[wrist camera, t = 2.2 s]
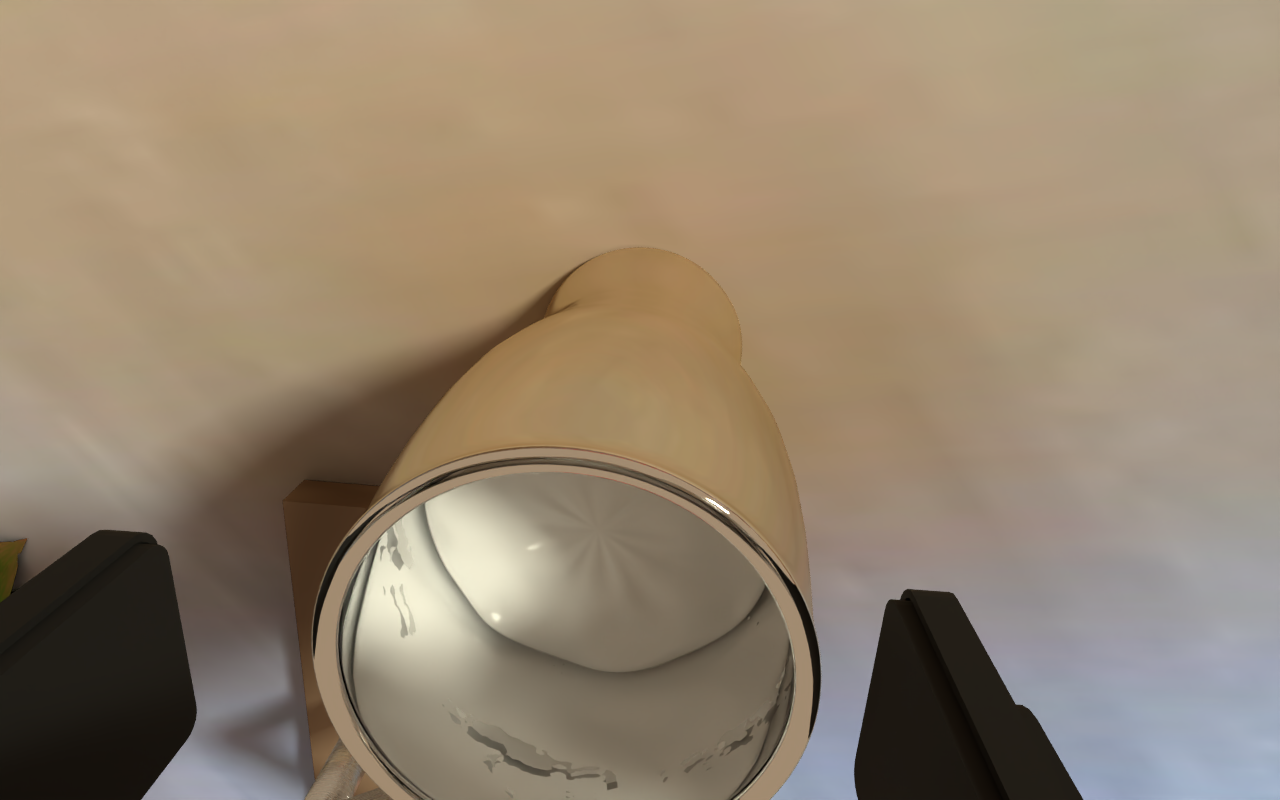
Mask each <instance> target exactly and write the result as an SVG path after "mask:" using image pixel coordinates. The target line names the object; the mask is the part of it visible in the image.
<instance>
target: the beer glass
mask: <svg viewBox="0 0 1280 800" xmlns="http://www.w3.org/2000/svg"><path fill="white" fill-rule="evenodd" d="M741 359H742V334H741V328H740V323H739V320H738V316H737V314H736V311H735V309H734V307H733V305H732V303H731V301H730V299H729V298H728V296H727V294H726V293H725V291H724V290H723V289H722V287H721V286H720V285H719V284H718V283H717V281H716V280H715V279H714V278H713V277H712V276H711V275H710V274H709V273H708V272H706V271H705V270H704V269H703V268H702V267H700V266H699V265H697V264H696V263H694V262H692V261H691V260H689V259H687V258H685V257H683V256H680V255H678V254H675V253H672V252H669V251H665V250H661V249H655V248H645V247H633V248H624V249H619V250H614V251H611V252H607V253H605V254H602V255H599V256H597V257H595V258H593V259H591V260H589V261H588V262H586V263H584V264H583V265H581V266H580V267H579V268H577V269H576V270H575V271H574V272H573V273H571V274H570V275H569V276H568V277H567V278H566V279H565V281H564V282H563V283H562V284H561V285H560V287H559V288H558V289H557V291H556V293H555V294H554V296H553V298H552V299H551V301H550V303H549V305H548V308H547V310H546V313H545V316H544V318H543V319H541V320H539V321H537V322H535V323H533V324H531V325H529V326H527V327H526V328H524V329H522V330H521V331H519V332H517V333H516V334H514V335H513V336H511V337H509V338H508V339H506V340H504V341H503V342H501V343H500V344H498V345H497V346H495V347H494V348H493V349H491V350H490V351H489V352H487V353H486V354H485V355H484V356H483V357H481V358H480V359H479V360H478V361H477V362H476V363H475V364H474V365H473V366H472V367H471V368H470V369H469V370H468V371H467V372H466V373H465V374H464V375H463V376H462V377H461V378H460V379H459V380H458V381H457V382H456V383H455V384H454V385H453V386H452V387H451V388H450V389H449V390H448V391H447V392H446V393H445V394H444V395H443V397H442V398H441V399H440V400H439V401H438V403H437V404H436V405H435V406H434V408H433V409H432V410H431V412H430V413H429V414H428V416H427V417H426V418H425V420H424V421H423V422H422V423H421V425H420V426H419V427H418V429H417V430H416V431H415V433H414V434H413V435H412V437H411V438H410V440H409V441H408V442H407V444H406V445H405V447H404V449H403V450H402V452H401V453H400V455H399V456H398V458H397V459H396V461H395V463H394V464H393V466H392V467H391V469H390V470H389V472H388V473H387V475H386V477H385V478H384V480H383V482H382V483H381V485H380V487H379V488H378V490H377V492H376V493H375V495H374V497H373V498H372V500H371V502H370V503H369V505H368V507H367V508H366V510H365V512H364V513H363V515H362V516H361V517H360V519H359V520H358V521H357V522H356V523H355V524H354V525H353V527H352V528H351V529H350V530H349V532H348V533H347V534H346V536H345V537H344V538H343V540H342V541H341V543H340V544H339V546H338V547H337V549H336V551H335V552H334V554H333V556H332V558H331V560H330V562H329V564H328V566H327V568H326V571H325V573H324V576H323V578H322V581H321V583H320V587H319V590H318V593H317V597H316V601H315V606H314V611H313V619H312V631H311V647H312V659H313V667H314V672H315V677H316V682H317V686H318V689H319V692H320V696H321V699H322V701H323V704H324V707H325V709H326V712H327V714H328V717H329V719H330V721H331V723H332V725H333V727H334V729H335V731H336V732H337V734H338V736H339V738H340V739H341V741H342V743H343V744H344V746H345V747H346V749H347V750H348V752H349V753H350V754H351V756H352V757H353V759H354V760H355V761H356V762H357V764H358V765H359V766H360V767H361V769H362V770H363V771H364V772H365V773H366V774H367V775H368V776H369V778H370V779H371V780H372V781H373V782H374V783H375V784H376V785H377V786H378V787H379V788H380V789H381V790H382V791H383V792H385V793H386V794H387V795H388V796H389V797H390V798H391V799H393V800H770V799H771V798H772V797H773V796H774V795H775V794H776V793H777V792H778V791H779V789H780V788H781V787H782V786H783V784H784V783H785V782H786V781H787V779H788V778H789V777H790V775H791V774H792V772H793V771H794V769H795V768H796V766H797V764H798V763H799V761H800V759H801V757H802V755H803V753H804V751H805V749H806V747H807V745H808V742H809V740H810V737H811V735H812V732H813V729H814V726H815V722H816V719H817V714H818V710H819V704H820V697H821V687H822V664H821V653H820V646H819V641H818V636H817V632H816V628H815V624H814V618H813V605H812V590H811V577H810V567H809V558H808V548H807V539H806V532H805V525H804V520H803V515H802V509H801V504H800V499H799V493H798V488H797V483H796V479H795V475H794V472H793V469H792V465H791V462H790V459H789V456H788V453H787V451H786V448H785V445H784V442H783V439H782V436H781V433H780V430H779V428H778V425H777V423H776V421H775V418H774V416H773V415H772V413H771V411H770V409H769V407H768V405H767V404H766V402H765V400H764V399H763V397H762V395H761V394H760V392H759V391H758V389H757V387H756V386H755V384H754V383H753V381H752V379H751V378H750V376H749V375H748V374H747V372H746V371H745V369H744V368H743V367H742V366H741Z"/></svg>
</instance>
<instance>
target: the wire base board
mask: <svg viewBox="0 0 1280 800" xmlns="http://www.w3.org/2000/svg"><path fill="white" fill-rule="evenodd" d="M379 487H380V486H371V485H359V484H347V483H335V482H323V481H311V480H304V481H303V482H302V483H301V484H300V485H299V486H298V487H297V488H296V489H295V490H293V491H292V492H291V493H290V494H289V495H288V496H287V497H286V498H285V499H284V500H283V510H284V518H285V527H286V535H287V544H288V553H289V561H290V570H291V578H292V587H293V595H294V604H295V613H296V621H297V630H298V638H299V647H300V656H301V664H302V673H303V681H304V690H305V699H306V707H307V716H308V724H309V733H310V741H311V750H312V759H313V767H314V776H315V780H316V778H317V777H318V775H319V773H320V771H321V770H322V768H323V766H324V764H325V762H326V761H327V759H328V757H329V755H330V754H331V752H332V750H333V748H334V747H335V745H336V743H337V741H338V740H339V736H338V734H337V732H336V731H335V729H334V727H333V725H332V723H331V721H330V719H329V717H328V714H327V712H326V709H325V707H324V704H323V701H322V699H321V696H320V692H319V689H318V686H317V682H316V677H315V672H314V667H313V659H312V647H311V631H312V619H313V611H314V606H315V601H316V597H317V593H318V590H319V587H320V583H321V581H322V578H323V576H324V573H325V571H326V568H327V566H328V564H329V562H330V560H331V558H332V556H333V554H334V552H335V551H336V549H337V547H338V546H339V544H340V543H341V541H342V540H343V538H344V537H345V536H346V534H347V533H348V532H349V530H350V529H351V528H352V527H353V525H354V524H355V523H356V522H357V521H358V520H359V519H360V517H361V516H362V515H363V513H364V512H365V510H366V508H367V507H368V505H369V503H370V502H371V500H372V498H373V497H374V495H375V493H376V492H377V490H378V488H379ZM376 788H379V787H378V786H377V785H376V784H375V783H374V782H373V781H372V780H371V779H370V778H369V776H368V775H367V774H366V773H365V774H364V776H363V778H362V780H361V782H360V784H359V786H358V788H357V790H356V792H355V794H354V796H356V795H359V794H362V793H364V792H367V791H370V790H373V789H376Z"/></svg>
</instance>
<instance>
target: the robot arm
mask: <svg viewBox="0 0 1280 800" xmlns="http://www.w3.org/2000/svg"><path fill="white" fill-rule="evenodd" d="M196 714H197V708H196V701H195V696H194V690H193V685H192V679H191V674H190V669H189V663H188V658H187V652H186V647H185V641H184V636H183V631H182V625H181V620H180V614H179V609H178V603H177V598H176V593H175V587H174V582H173V576H172V571H171V565H170V560H169V555H168V552H167V550H166V549H165V548H164V547H163V546H161V545H158V544H157V541H156V540H155V538H154V537H153V536H152V535H150V534H148V533H143V532H129V531H116V530H99V531H97V532H95V533H93V534H92V535H90V536H89V537H88V538H86V539H85V540H84V541H82V542H81V543H80V544H78V545H77V546H76V547H74V548H73V549H72V550H70V551H69V552H67V553H66V554H65V555H63V556H62V557H61V558H59V559H58V560H57V561H55V562H54V563H53V564H51V565H50V566H49V567H47V568H46V569H45V570H43V571H42V572H41V573H39V574H38V575H37V576H35V577H34V578H32V579H31V580H30V581H28V582H27V583H26V584H24V585H23V586H22V587H20V588H19V589H18V590H16V591H15V592H14V593H12V594H11V595H10V596H8V597H7V598H6V599H4V600H3V601H2V602H0V800H141V799H142V798H143V796H144V795H145V794H146V792H147V791H148V790H149V789H150V787H151V786H152V785H153V783H154V782H155V781H156V779H157V778H158V777H159V776H160V774H161V773H162V772H163V770H164V769H165V768H166V766H167V765H168V764H169V762H170V761H171V760H172V759H173V757H174V756H175V755H176V753H177V752H178V751H179V749H180V748H181V747H182V746H183V744H184V743H185V742H186V740H187V739H188V737H189V736H190V734H191V732H192V730H193V727H194V724H195V721H196ZM854 778H855V788H856V793H857V797H858V800H1083V798H1082V797H1081V795H1080V793H1079V791H1078V790H1077V788H1076V786H1075V784H1074V783H1073V781H1072V779H1071V777H1070V776H1069V774H1068V772H1067V771H1066V769H1065V767H1064V765H1063V764H1062V762H1061V760H1060V758H1059V757H1058V755H1057V753H1056V751H1055V750H1054V748H1053V746H1052V744H1051V743H1050V741H1049V739H1048V737H1047V736H1046V734H1045V732H1044V730H1043V729H1042V727H1041V725H1040V723H1039V722H1038V720H1037V719H1036V717H1035V716H1034V715H1033V713H1032V712H1031V711H1030V710H1029V709H1028V708H1026V707H1024V706H1023V705H1016V704H1015V703H1014V701H1013V699H1012V697H1011V695H1010V693H1009V692H1008V690H1007V688H1006V686H1005V684H1004V683H1003V681H1002V679H1001V677H1000V675H999V674H998V672H997V670H996V668H995V666H994V665H993V663H992V661H991V659H990V657H989V655H988V654H987V652H986V650H985V648H984V646H983V645H982V643H981V641H980V639H979V637H978V636H977V634H976V632H975V630H974V628H973V627H972V625H971V623H970V621H969V619H968V617H967V616H966V614H965V612H964V610H963V608H962V607H961V605H960V603H959V601H958V599H957V598H956V597H955V595H954V594H953V593H950V592H940V591H926V590H913V589H907V590H905V591H904V592H903V594H902V596H901V599H900V600H892V599H891V600H889V601H888V603H887V605H886V608H885V612H884V617H883V622H882V627H881V632H880V637H879V642H878V647H877V653H876V658H875V663H874V668H873V673H872V678H871V683H870V688H869V693H868V698H867V703H866V708H865V713H864V718H863V723H862V728H861V733H860V738H859V743H858V748H857V753H856V758H855V767H854Z"/></svg>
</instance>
